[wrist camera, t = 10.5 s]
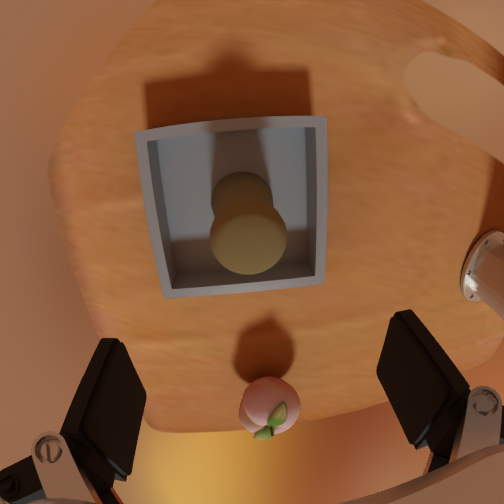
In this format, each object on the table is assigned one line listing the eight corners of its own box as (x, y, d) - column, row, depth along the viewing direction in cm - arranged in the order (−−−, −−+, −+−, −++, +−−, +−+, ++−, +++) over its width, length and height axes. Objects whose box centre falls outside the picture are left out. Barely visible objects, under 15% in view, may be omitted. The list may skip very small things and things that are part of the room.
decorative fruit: (283, 399, 43) (294, 450, 34) (233, 397, 41) (236, 450, 32) (301, 360, 39) (317, 416, 30) (244, 357, 38) (250, 416, 29)
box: (311, 117, 26) (326, 116, 22) (312, 263, 33) (324, 283, 28) (148, 130, 25) (134, 132, 21) (171, 276, 32) (164, 298, 28)
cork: (198, 200, 28) (181, 244, 18) (245, 158, 26) (255, 178, 16) (239, 242, 30) (245, 304, 20) (285, 204, 28) (316, 249, 18)
